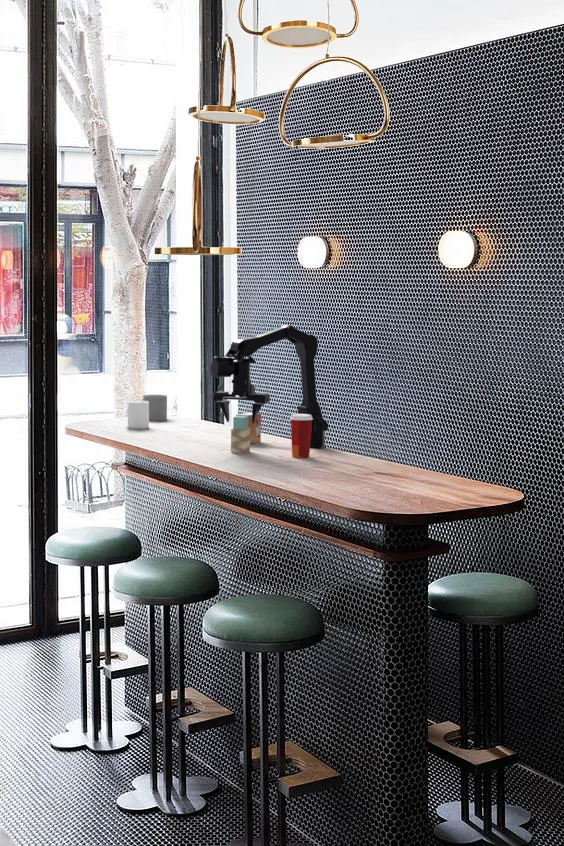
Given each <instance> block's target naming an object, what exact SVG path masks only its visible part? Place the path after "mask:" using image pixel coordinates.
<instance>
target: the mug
mask: <svg viewBox="0 0 564 846" xmlns="http://www.w3.org/2000/svg"><path fill="white" fill-rule="evenodd" d="M126 418H127V428H128V429H132V430H133V429H134V430H142V429H143V430H144V429H148V428H149V425H150V421H149V402H148V401H141V400H128V401H127V408H126Z"/></svg>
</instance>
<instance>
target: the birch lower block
mask: <svg viewBox="0 0 564 846" xmlns="http://www.w3.org/2000/svg"><path fill="white" fill-rule="evenodd" d="M250 450H251V444H250V440H249V441H246V442H239V441H231V440H230V453H231V452H233V454H244V453H245V454H248V453H250Z"/></svg>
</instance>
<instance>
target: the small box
mask: <svg viewBox="0 0 564 846" xmlns="http://www.w3.org/2000/svg"><path fill="white" fill-rule="evenodd" d="M236 416H246V417H249V422H248V428H250V445H251V444H258V443H259V444H260V443H261V441H262V440H261V438H262V437H261V435H262V413H259V412H258V415H257V418H256V421H255V423H254V424H253V422H252V412H245V413H236V414H235V417H236Z"/></svg>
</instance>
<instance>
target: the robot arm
mask: <svg viewBox="0 0 564 846" xmlns="http://www.w3.org/2000/svg"><path fill="white" fill-rule="evenodd" d="M285 339H286V340H288V341H289V342H290V343H291V344H293V345H294V349H295V352H296V355H297V356H298V358H299V364H300V376H301V393H302V401H301V404H300V405H297V408H296V409H297V414H310V415H312V418H313V420H312V430H311V441H310V448H314V449H315V448H316V449H322V448H325V447H326V446H327V444H325V443H326V441H325V440H326V431H328V429H329V423H328V422H327V421H326V420H325V418H323V413H322V408H321V406H320V404H319V402H318V401H317V385H316V371H315V370H316V369H315V358H316V357H317V353H318V347H319V341H318V338H317V337H316V336H315V335H314V334H308V333H306V332H304V331H302V330H300V329H298V328H296V327H294V326H293V325H290V324H289V325H287V324H284V325H282V326H280V327H278V328H275V329H271V330H269V331H267V332H264V333H260V334H258V335H255V336H251V337H241V338H235V339H234V340H232V341H231V344H230V347H229V349H228V350H227V352H226V353H225V355H224V356H223V357H220V356H214V357H213V360H212V362H211V365H210V374H211V376H212V377H213V378H231V376H232V379H231V384H232V391H231V393H230V392H229V391H221V390H219V391H215V392H213V394H212V401H214V402H216V404H218V405H219V407H220V409H221V410H222V413H223V417H224V418H225V420H226V422H227V423H229V422H230V403H231V402H230V401H231V400H238V401H253V402H254V403H252V409H251V410H252V411H251V413H252V422H253V424H254V423H255V421H256V418H257V415H258V413H259V412H260V410H261V408H262V406H264V405H266V404H267V403H270V402H271V401H270V398H271V397H270V394H269V393H266V392H265V393H262V392H258V393H256V387H255V385H253V384H252V380H251V364H256V362H257V360H255V358H253V357H252V355H253V354H254V353H257V351H258V350H260V349H261V348H263V347H266V346H268V345H272V344H274V343H277V342H280V341H282V340H285Z"/></svg>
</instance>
